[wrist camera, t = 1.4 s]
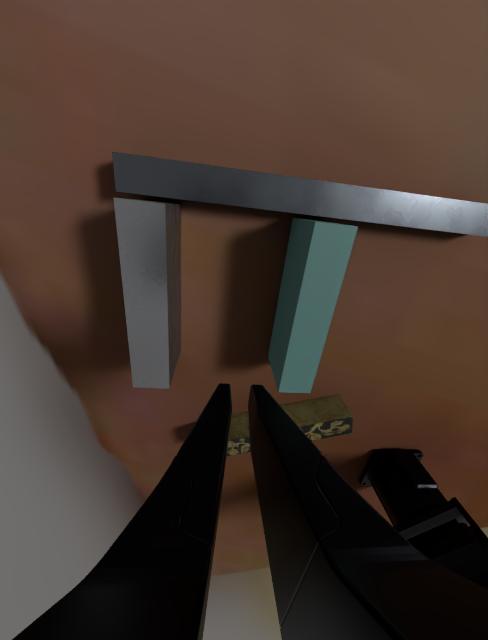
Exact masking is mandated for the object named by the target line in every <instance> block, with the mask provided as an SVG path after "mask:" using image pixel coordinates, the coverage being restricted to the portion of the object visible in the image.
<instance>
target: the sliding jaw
mask: <svg viewBox="0 0 488 640" xmlns="http://www.w3.org/2000/svg"><path fill="white" fill-rule="evenodd" d="M357 229H358V227H357V226H351V225H344V224H338V223H331V222H325V221H316V220H308V219H300V218H293V219H292V225H291V231H290V236H289V242H288V247H287V253H286V259H285V264H284V270H283V275H282V281H281V286H280V292H279V298H278V303H277V309H276V314H275V320H274V326H273V331H272V337H271V342H270V348H269V353H268V358H269V362H270V365H271V368H272V372H273V375H274V379H275V382H276V385H277V389H278V392H289V393H311V389H312V386H313V382H314V379H315V375H316V372H317V368H318V365H319V361H320V358H321V354H322V351H323V347H324V344H325V340H326V337H327V333H328V330H329V326H330V323H331V319H332V316H333V313H334V309H335V306H336V302H337V299H338V295H339V292H340V288H341V285H342V281H343V278H344V274H345V271H346V267H347V264H348V260H349V257H350V253H351V250H352V246H353V243H354V239H355V236H356V233H357Z"/></svg>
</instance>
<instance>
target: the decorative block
mask: <svg viewBox="0 0 488 640" xmlns="http://www.w3.org/2000/svg"><path fill="white" fill-rule="evenodd" d="M280 406H281V407H282V408H283V409H284V411H285V412H286V413H287V414H288V415H289V416H290V418H291V419H292V420H293V421H294V422H295V423H296V424H297V426H298V427H299V428H300V429H301V430H302V431H303V432H304V434H305V435H306V436H307V437H308V438H309V439H310V441H313V440H317V439H318V440H320V439H323V438H328V437H333V436H338V435H344V434H349V433H352V432H353V431H352V422H353V417H352V415H351V413H350V412H349V410H348V409H347V407H346V405H345V404H344V402H343V401H342V399H341V398H340V396H339V395H333V396H327V397H322V398H317V399H311V400H306V401H301V402H296V403H290V404H285V405H280ZM247 452H251V449H250V435H249V414H248V411H247V412H242V413H237V414H231V422H230V430H229V439H228V447H227V456H231V455H237V454H242V453H247Z"/></svg>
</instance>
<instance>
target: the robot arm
mask: <svg viewBox="0 0 488 640" xmlns="http://www.w3.org/2000/svg"><path fill="white" fill-rule="evenodd" d="M231 413H232V400H231V388H230V384H222V383H220V384H219V385H218V386H217V388H216V389H215V391H214V393H213V394H212V396H211V398H210V399H209V401H208V403H207V404H206V406H205V408H204V410H203V411H202V413H201V415H200V416H199V418H198V420H197V421H196V423H195V425H194V426H193V428H192V430H191V431H190V433H189V435H188V436H187V438H186V440H185V441H184V443H183V445H182V446H181V448H180V450H179V451H178V453H177V456H175V458H174V460H173V461H172V463H171V465H170V466H169V468H168V469H167V471H166V472H165V474H164V476H163V477H162V479H161V480H160V482H159V483H158V485H157V486H156V488H155V489H154V490H153V492H152V493H151V494H150V496H149V497H148V499H147V500H146V501H145V503H144V504H143V505H142V507H141V508H140V509H139V511H138V512H137V513H136V515H135V516H134V517H133V518H132V520H131V521H130V522H129V524H128V525H127V526H126V528H125V529H124V530H123V532H122V533H121V534H120V536H119V537H118V538H117V539H116V541H115V542H114V543H113V545H112V546H111V547H110V549H109V550H108V551H107V552H106V554H105V555H104V556H103V558H102V559H101V560H100V561H99V562H98V564H97V565H96V566H95V567H94V568H93V569H92V571H91V572H90V573H89V574H88V575H87V576H86V577H85V578H84V579H83V580H82V581H81V582H80V583H79V584H78V585H77V586H76V587H75V588H73V589H72V590H71V591H70V592H69V593H68V594H66V595H65V596H64V597H63V598H62V599H60V600H59V601H58V602H57V603H56V604H54V605H53V606H52V607H51V608H50V609H48V610H47V611H46V612H45V613H44V614H42V615H41V616H40V617H39V618H37V619H36V620H35V621H34V622H33V623H32V624H30V625H29V626H28V627H27V628H25V629H24V630H23V631H22V632H21V633H20V634H18V635H17V636H16V637H15V638H13V639H12V640H202V639H203V631H204V624H205V616H206V608H207V600H208V592H209V585H210V578H211V570H212V563H213V555H214V547H215V540H216V532H217V524H218V517H219V509H220V502H221V494H222V486H223V479H224V471H225V463H226V456H227V447H228V439H229V430H230V422H231ZM248 414H249V435H250V449H251V456H252V462H253V468H254V474H255V480H256V486H257V492H258V498H259V504H260V510H261V516H262V522H263V528H264V534H265V540H266V546H267V552H268V558H269V564H270V570H271V576H272V582H273V588H274V594H275V600H276V606H277V612H278V618H279V624H280V627H281V629H280V631H281V636H282V640H488V538H487V536H486V535H485V534H484V533H483V531H482V530H481V529H480V528H479V526H478V525H477V524H476V523H475V521H474V520H473V519H472V518H471V516H470V515H469V514H468V513H467V511H466V510H465V509H464V508H463V506H462V505H461V504H460V503H459V501H458V500H457V499H456V498H455V497H454V498H452V499H450V501H447V500H446V499H445V497H444V496H443V495H442V493H441V492H440V491H439V489H438V485H437V484H436V482H435V481H434V480H433V478H432V477H431V476H430V474H429V473H428V472H427V471H426V469H425V468H424V467H423V465H422V464H421V463H420V460H421V459H422V457H423V453H422V452H421V451H420V450H376V451H374V452H373V454H372V456H371V458H370V460H369V462H368V464H367V466H366V468H365V470H364V472H363V474H362V476H361V478H360V480H359V483H360V485H361V486H372V487H373V489H374V490H375V492H376V494H377V496H378V498H379V500H380V502H381V504H382V506H383V507H384V509H385V511H386V513H387V515H388V517H389V519H390V521H391V523H392V524H393V526H392V525H391V524H389V523H388V522H387V521H386V520H385V519H384V518H383V517H382V516H381V515H380V514H379V513H378V512H377V511H376V510H375V509H374V508H373V507H372V506H371V505H370V504H369V503H368V502H367V501H366V500H365V499H364V498H363V497H362V496H361V495H360V494H359V493H358V492H357V491H356V490H355V489H354V488H353V487H352V486H351V485H350V484H349V483H348V482H347V481H346V480H345V479H344V478H343V477H342V476H341V475H340V473H339V472H338V471H337V470H336V469H335V468H334V467H333V466H332V465H331V463H330V462H329V461H328V460H327V459H326V458H325V457H324V456H322V453H321V452H320V451H319V450H318V449H317V447H316V446H315V445H314V444H313V443H312V442H311V441H310V439H309V438H308V437H307V436H306V435H305V434H304V432H303V431H302V430H301V429H300V428H299V427H298V426H297V424H296V423H295V422H294V421H293V420H292V419H291V418H290V416H289V415H288V414H287V413H286V412H285V411H284V409H283V408H282V407H281V406H280V405H279V404H278V403H277V401H276V400H275V399H274V398H273V397H272V396H271V394H270V393H269V392H268V391H267V390H266V389H265V388H264V386H262V385H252V386H251V388H250V395H249V401H248ZM467 523H469V524H470V526H469V527H468V525H467Z"/></svg>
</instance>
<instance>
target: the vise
mask: <svg viewBox="0 0 488 640" xmlns="http://www.w3.org/2000/svg"><path fill="white" fill-rule="evenodd" d="M112 157H113V167H114V178H115V188H116V192H124V193H132V194H140V195H148V196H156V197H164V198H173V199H181V200H189V201H197V202H206V203H214V204H222V205H230V206H238V207H247V208H255V209H263V210H271V211H280V212H288V213H296V214H304V215H312V216H321V217H329V218H337V219H345V220H354V221H362V222H370V223H378V224H386V225H395V226H403V227H411V228H419V229H428V230H436V231H444V232H452V233H460V234H469V235H477V236H486V237H488V204H484V203H476V202H469V201H462V200H455V199H448V198H441V197H433V196H426V195H419V194H412V193H405V192H398V191H390V190H383V189H376V188H369V187H362V186H355V185H347V184H340V183H333V182H326V181H319V180H312V179H304V178H297V177H290V176H283V175H276V174H268V173H261V172H254V171H247V170H240V169H233V168H225V167H218V166H211V165H204V164H197V163H190V162H182V161H175V160H168V159H161V158H154V157H147V156H139V155H132V154H125V153H118V152H112ZM114 207H115V217H116V227H117V236H118V246H119V256H120V265H121V275H122V285H123V294H124V304H125V314H126V323H127V333H128V343H129V352H130V362H131V372H132V381H133V387H139V388H169V389H170V385H171V382H172V379H173V375H174V372H175V368H176V365H177V362H178V358H179V355H180V352H181V204H174V203H166V202H158V201H149V200H139V199H126V198H114Z"/></svg>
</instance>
